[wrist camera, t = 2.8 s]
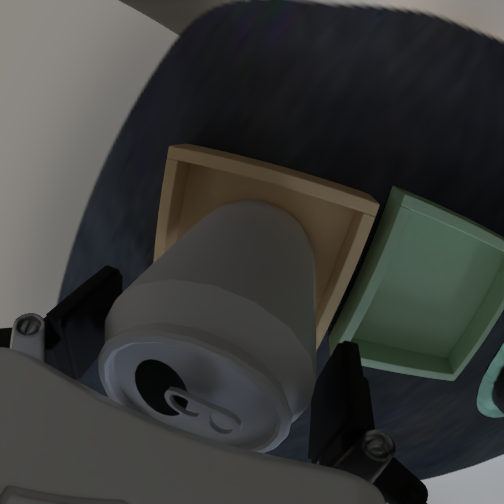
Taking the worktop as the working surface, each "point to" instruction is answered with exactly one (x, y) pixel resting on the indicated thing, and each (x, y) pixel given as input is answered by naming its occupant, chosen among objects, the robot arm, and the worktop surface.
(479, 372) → the worktop surface
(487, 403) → the black and teal hat
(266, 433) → the can
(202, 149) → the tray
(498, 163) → the worktop surface
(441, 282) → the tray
